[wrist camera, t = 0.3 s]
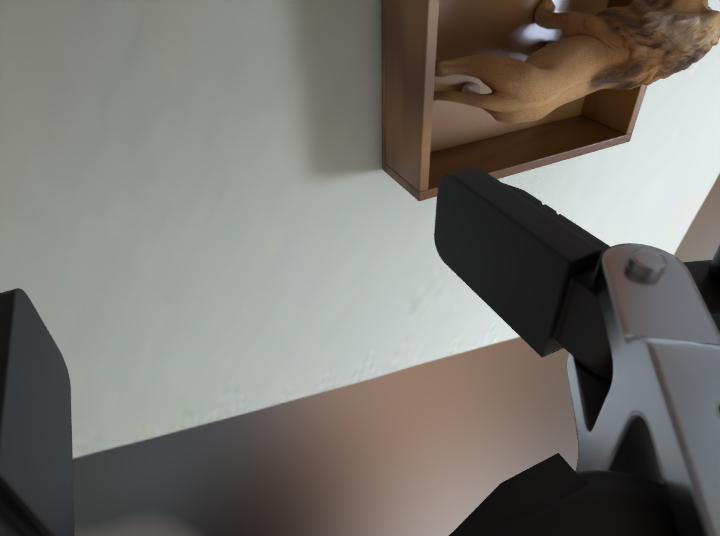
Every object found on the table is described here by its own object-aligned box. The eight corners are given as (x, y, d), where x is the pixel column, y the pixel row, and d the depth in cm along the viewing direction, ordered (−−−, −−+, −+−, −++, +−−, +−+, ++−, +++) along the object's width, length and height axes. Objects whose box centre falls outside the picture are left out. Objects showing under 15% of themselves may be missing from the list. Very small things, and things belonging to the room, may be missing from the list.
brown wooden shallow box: (381, -91, 23) (432, -87, 20) (636, -108, 28) (709, -107, 25) (382, 170, 31) (418, 201, 28) (580, 119, 36) (630, 141, 33)
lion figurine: (599, -60, 29) (758, -44, 22) (600, 31, 32) (736, 67, 26) (384, 70, 27) (486, 128, 21) (410, 149, 31) (504, 219, 24)
